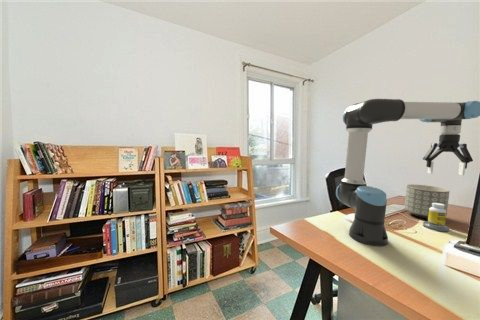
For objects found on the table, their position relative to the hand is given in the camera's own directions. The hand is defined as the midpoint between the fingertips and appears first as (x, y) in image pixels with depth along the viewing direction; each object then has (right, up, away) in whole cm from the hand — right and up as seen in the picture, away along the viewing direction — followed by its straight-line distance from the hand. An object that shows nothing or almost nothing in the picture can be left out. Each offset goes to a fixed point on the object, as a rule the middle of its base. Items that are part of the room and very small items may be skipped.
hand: (445, 174), depth 105 cm
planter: (+4, -28, +17) cm, 33 cm away
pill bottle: (-5, -27, 0) cm, 28 cm away
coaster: (-6, -29, 0) cm, 29 cm away
